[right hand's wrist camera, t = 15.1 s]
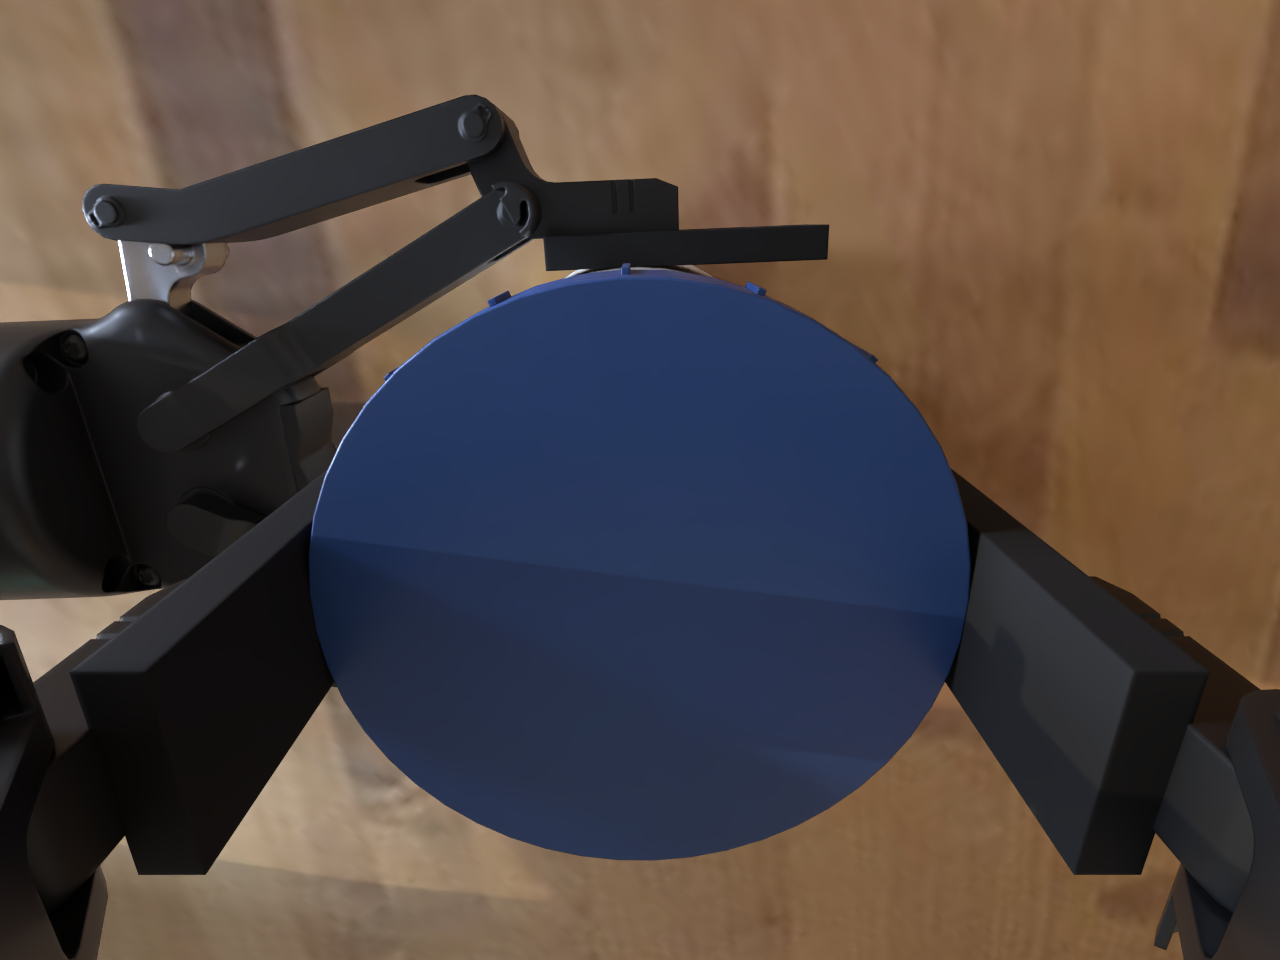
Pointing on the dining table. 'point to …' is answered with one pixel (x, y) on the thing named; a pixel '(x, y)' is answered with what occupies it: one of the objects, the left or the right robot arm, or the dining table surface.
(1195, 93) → the dining table surface
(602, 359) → the lid
